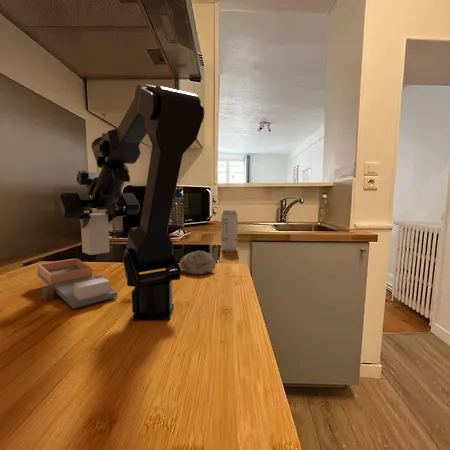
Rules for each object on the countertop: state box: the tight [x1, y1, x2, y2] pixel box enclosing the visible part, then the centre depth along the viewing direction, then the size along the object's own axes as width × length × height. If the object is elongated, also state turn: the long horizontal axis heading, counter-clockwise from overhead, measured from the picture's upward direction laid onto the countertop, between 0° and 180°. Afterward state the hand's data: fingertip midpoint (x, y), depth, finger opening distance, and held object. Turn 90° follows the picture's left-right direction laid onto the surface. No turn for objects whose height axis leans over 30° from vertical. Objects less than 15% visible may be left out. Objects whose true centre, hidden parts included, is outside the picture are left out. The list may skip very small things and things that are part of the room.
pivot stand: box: [41, 274, 106, 302], centre depth 67 cm, size 2×13×2 cm, turn 137°
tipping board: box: [36, 257, 118, 309], centre depth 67 cm, size 21×9×4 cm, turn 47°
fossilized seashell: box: [178, 250, 216, 276], centre depth 87 cm, size 11×11×7 cm
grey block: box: [80, 212, 111, 256], centre depth 79 cm, size 5×5×10 cm
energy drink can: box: [220, 209, 239, 253], centre depth 114 cm, size 6×6×15 cm
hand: (92, 226), depth 80 cm, fingers closed on grey block, 5 cm apart
